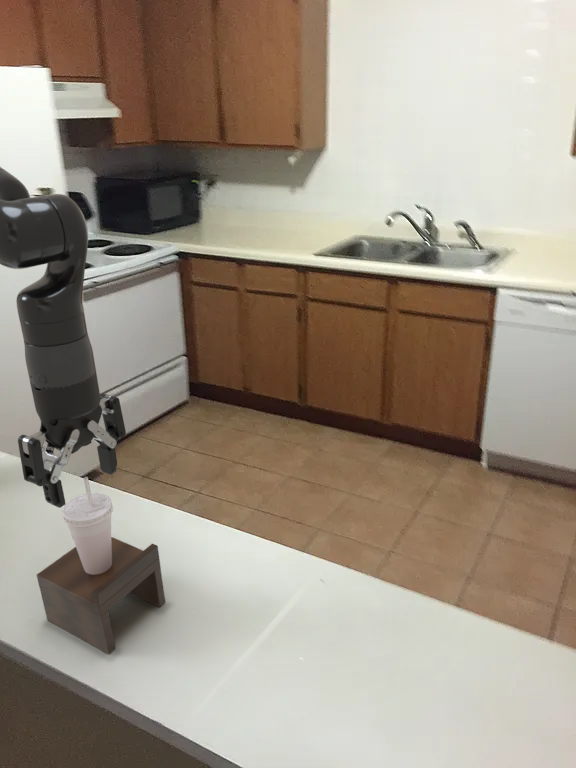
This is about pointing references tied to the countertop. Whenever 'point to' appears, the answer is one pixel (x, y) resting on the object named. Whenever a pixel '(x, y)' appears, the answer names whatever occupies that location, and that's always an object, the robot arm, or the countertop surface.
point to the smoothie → (91, 529)
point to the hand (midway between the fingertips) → (84, 487)
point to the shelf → (99, 590)
